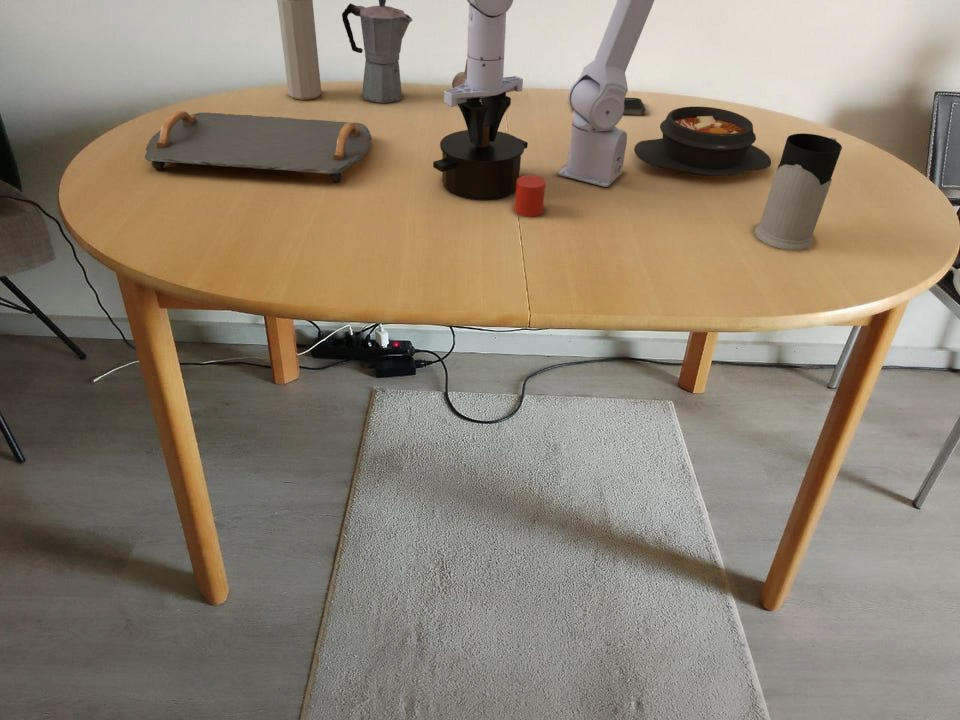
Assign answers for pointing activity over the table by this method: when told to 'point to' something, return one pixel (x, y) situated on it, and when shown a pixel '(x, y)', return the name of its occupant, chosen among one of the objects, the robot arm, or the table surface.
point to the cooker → (479, 178)
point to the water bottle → (300, 48)
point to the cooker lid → (482, 147)
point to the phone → (633, 106)
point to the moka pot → (380, 49)
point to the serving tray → (259, 143)
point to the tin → (529, 195)
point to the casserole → (704, 143)
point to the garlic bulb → (460, 78)
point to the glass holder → (798, 191)
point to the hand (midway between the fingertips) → (482, 141)
